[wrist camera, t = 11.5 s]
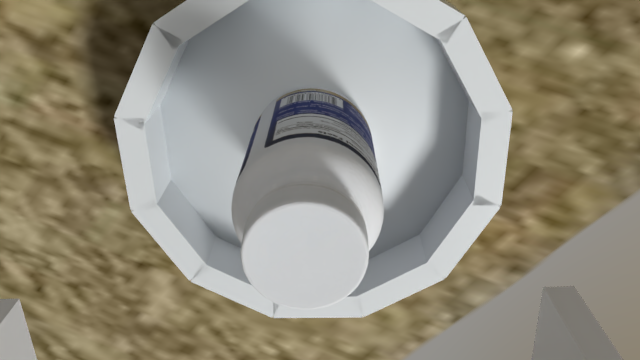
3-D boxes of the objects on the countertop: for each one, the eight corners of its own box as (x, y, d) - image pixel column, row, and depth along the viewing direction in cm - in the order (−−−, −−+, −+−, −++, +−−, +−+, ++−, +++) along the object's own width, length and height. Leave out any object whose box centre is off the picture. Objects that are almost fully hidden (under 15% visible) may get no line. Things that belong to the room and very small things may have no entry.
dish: (168, 276, 32) (150, 319, 28) (117, -45, 25) (85, -36, 21) (472, 273, 31) (488, 316, 28) (505, -54, 24) (531, -47, 21)
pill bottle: (314, 215, 29) (305, 356, 20) (229, 142, 27) (179, 260, 18) (397, 140, 27) (428, 259, 18) (311, 58, 25) (300, 143, 17)
